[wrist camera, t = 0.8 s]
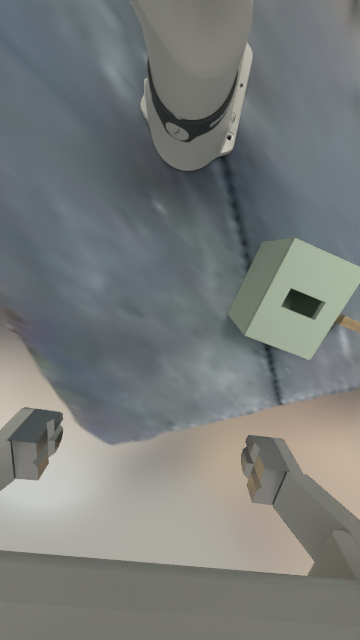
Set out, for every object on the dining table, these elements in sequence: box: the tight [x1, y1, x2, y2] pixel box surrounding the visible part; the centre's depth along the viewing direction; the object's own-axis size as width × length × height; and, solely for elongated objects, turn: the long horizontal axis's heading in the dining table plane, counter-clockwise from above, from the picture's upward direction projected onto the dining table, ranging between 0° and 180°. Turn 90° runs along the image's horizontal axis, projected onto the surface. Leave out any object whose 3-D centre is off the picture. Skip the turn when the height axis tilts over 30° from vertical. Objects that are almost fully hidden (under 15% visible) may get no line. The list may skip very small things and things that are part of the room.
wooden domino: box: [335, 314, 360, 332], centre depth 49 cm, size 2×5×8 cm, turn 69°
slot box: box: [228, 238, 360, 360], centre depth 44 cm, size 18×14×14 cm
